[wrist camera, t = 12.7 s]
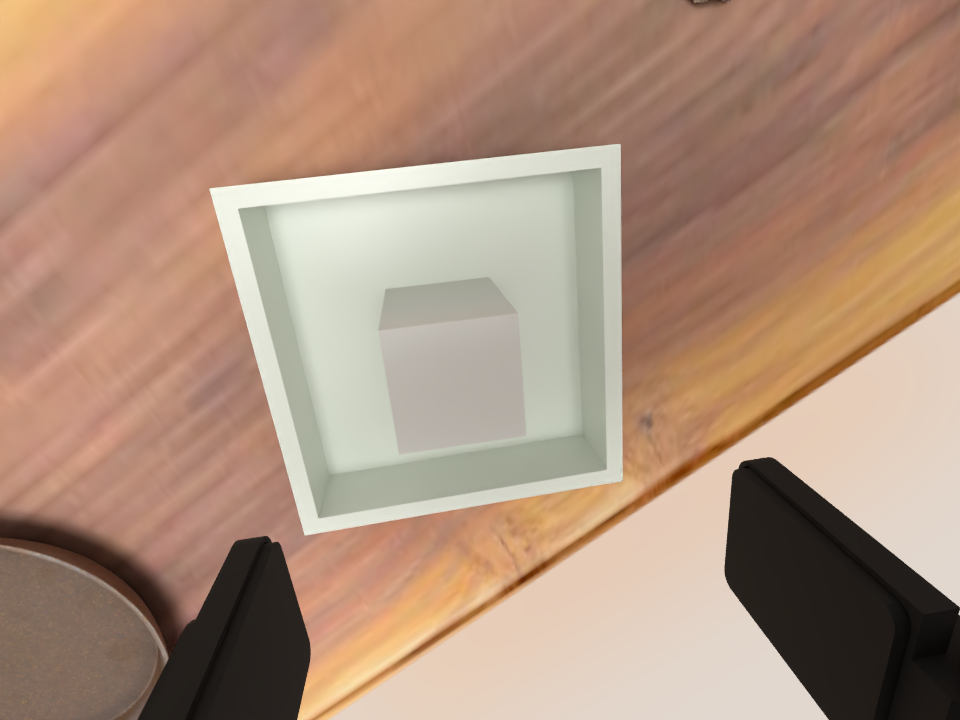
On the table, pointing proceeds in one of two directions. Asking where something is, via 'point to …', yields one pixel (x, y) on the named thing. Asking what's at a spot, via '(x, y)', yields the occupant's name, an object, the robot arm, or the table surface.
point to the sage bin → (418, 261)
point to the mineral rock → (706, 1)
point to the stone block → (452, 364)
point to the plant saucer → (72, 638)
